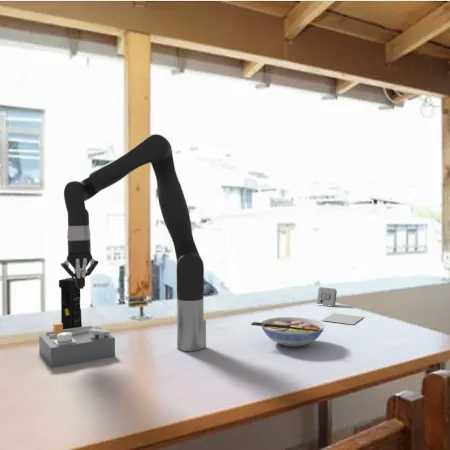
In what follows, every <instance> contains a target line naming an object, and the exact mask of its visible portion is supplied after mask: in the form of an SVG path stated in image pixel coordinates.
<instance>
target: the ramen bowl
mask: <svg viewBox="0 0 450 450" xmlns="http://www.w3.org/2000/svg"><path fill="white" fill-rule="evenodd" d="M250 325H251V326H255V327H257V326H259V327H261V329H262V330H263V332H264V333H265V335H266V336H267V337H268V338H269V339H270V340H271V341H272V342H274V343H277V344H279V345H282V346H284V347H287V348H300V347H302V346H305V345H308V344H310V343H313V342H314V341H316V340H317V339H318V338H319V337H320V336H321V334H322V333H323V332H324V329H325V324H324V323H323V322H321V321H319V320H315V319H312V318H306V317H297V316H296V317H295V316H282V317H280V316H279V317H272V318H267V319H264V320H262V321H261V322H257V321H253V322H251V324H250Z"/></svg>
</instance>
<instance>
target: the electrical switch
mask: <svg viewBox="0 0 450 450" xmlns="http://www.w3.org/2000/svg"><path fill="white" fill-rule="evenodd" d="M337 292H338V291H337V289H336V288H333V287H331V288H330V287H322V286H319V287H318V292H317V293H318V294H317V299H316V305H317V304H323V305H330V306H334V305H335V306H336V300H337V299H336V298H337ZM330 306H329V307H330ZM335 306H334V307H335Z"/></svg>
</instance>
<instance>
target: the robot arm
mask: <svg viewBox="0 0 450 450" xmlns="http://www.w3.org/2000/svg"><path fill="white" fill-rule="evenodd" d="M173 156H174V155H173V149H172V146H171V142H169V140H168V139H167V138H166V137H165V136H163V135H161V134H158V133H157V134H156V133H154V134H150V135H149V136H147V137H146V138H145V139H143V140H142V141H141V142H139V143H138V144H137V145H135V147H133V148H132V149H130V150H129V151H126V152H125V153H124V154H123V155H120V156H119V157H118V158H115V159H113V160H112V161H110V162H108V163H106V164H105V165H102V166H100V167H99V168H97V169H95V170H93V171H91V172H90V173H89V175H88V177H86V178H84V179H83V180H81V181H79V180H71V181H69V182H67V183H66V185H65V187H64V190H63V198H64V204H65V208H66V213H67V226H68V227H67V232H66V233H67V236H66V238H67V256H66V259H65V261H63V262H61V263H60V266H61V267H62V268H63V269H64V270H65V272H66V273H67V274H68V275H69V276H70V277H71V278H72V277H74V278H75V279H76V287H78V289H80V290H81V289H82V290H83V289H84V287H86V277H88V276H91V275H92V273H93V272H94V270H95V268H96V267H97V266H98V264H99V260H95V259H94V258H93V255H92V249H91V248H92V247H91V245H92V244H91V230H90V229H91V228H90V213H89V211H88V209H86V204H85V202H86V201H88V200H90V199H92V198H93V197H94V196H96V195H97V194H99V193H100V192H101V191H102V190H105V189H106V188H109V187H111V186H113V185H114V184H116V183H118V182H119V181H121V180H122V179H123V178H125V177H126V176H128V175H129V174H130V173H132V172H133V171H135V170H136V169H138V168H140V167H142V166H144V165H148V164H149V163H150V165H151V168H152V169H153V172H154V175H155V179H156V186H157V187H156V189H157V199H158V205H159V208H160V209H159V210H160V211H161V216H162V219H163V221H164V224H165V226H166V229H167V232H168V234H169V235H170V238H171V240H172V244H173V246H174V253H175V257H176V258H175V259H176V328H177V329H176V337H177V338H176V339H177V340H176V343H177V344H176V346H177V347H176V348H177V350H179V351H184V352H195V351H200V350H202V349H204V348H207V321H206V319H204V317H205V316H204V291H205V289H204V288H205V286H204V285H205V280H204V279H205V277H204V276H205V272H204V271H205V270H204V269H205V266H204V261H203V259H202V257H201V255H200V253H199V249H198V248H197V244H196V241H195V240H194V235H193V231H192V230H193V229H192V224H191V223H192V222H191V221H192V220H191V216H190V212H189V211H190V210H189V207H188V204H187V201H186V197H185V194H184V191H183V188H182V185H181V183H180V180H179V177H178V175H177V171H176V167H175V162H174V157H173ZM88 265H89V266H88ZM70 266H71V267H72V268H73V272H72V269H71V268H70ZM87 267H88V268H87Z"/></svg>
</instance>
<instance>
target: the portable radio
mask: <svg viewBox="0 0 450 450" xmlns="http://www.w3.org/2000/svg"><path fill="white" fill-rule="evenodd" d="M72 272H73V273H74V270H73V271H72ZM58 288H60V313H61V314H60V315H61V317H60V318H61V320H60V322H61V323H62V324H63V330H64V329H71V328H78V327H83V326H82V324H83V323H82V309H81V289H78V287H76V279H75V277H72V276H71V277H67V278H62V279H59V280H58Z"/></svg>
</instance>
